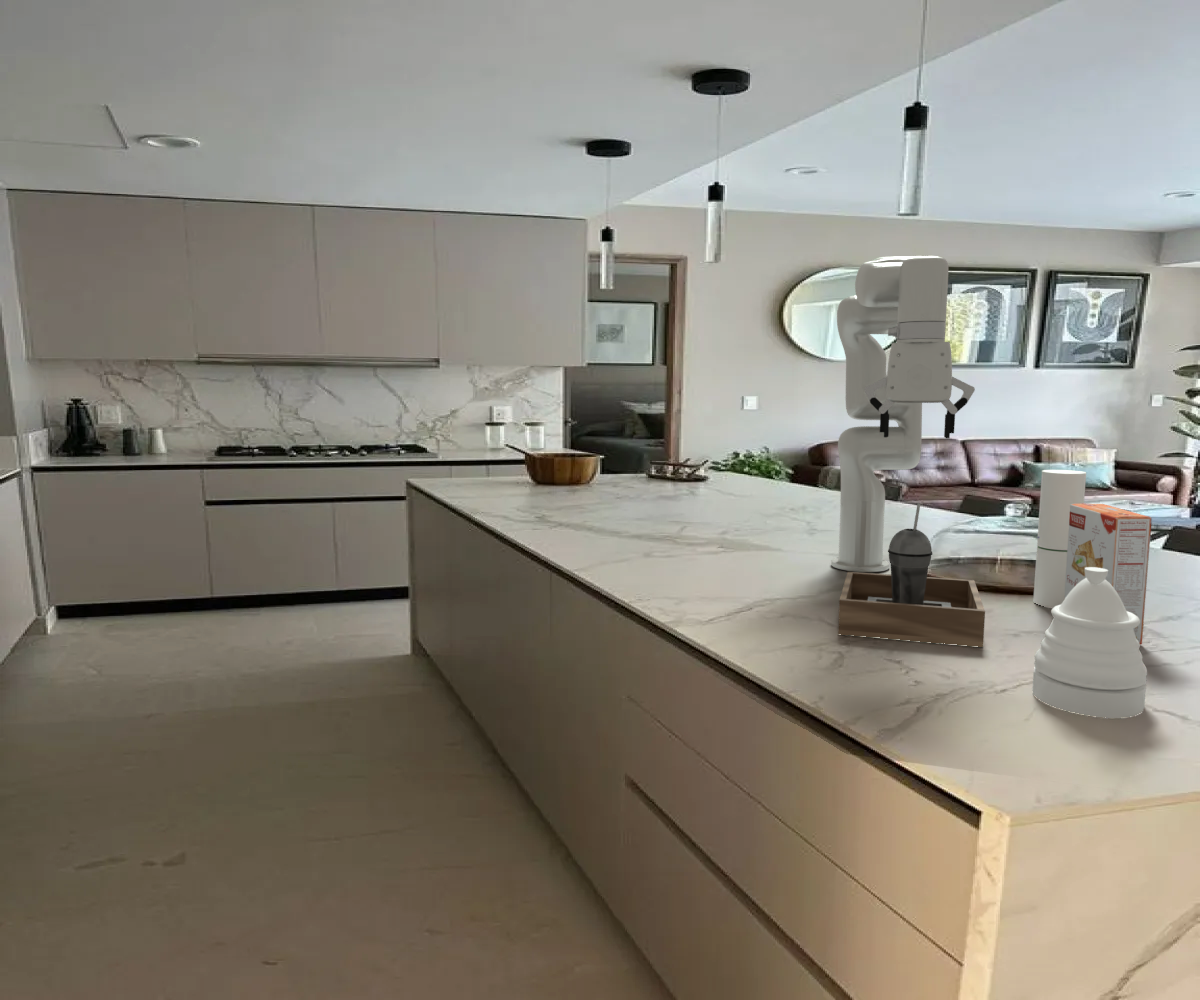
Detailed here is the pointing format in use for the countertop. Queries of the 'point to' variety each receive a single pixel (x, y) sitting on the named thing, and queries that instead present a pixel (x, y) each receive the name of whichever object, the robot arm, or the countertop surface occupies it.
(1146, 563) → the cracker box
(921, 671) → the countertop surface
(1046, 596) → the cylindrical container
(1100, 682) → the honey pot
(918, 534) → the beverage cup
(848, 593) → the walled box
